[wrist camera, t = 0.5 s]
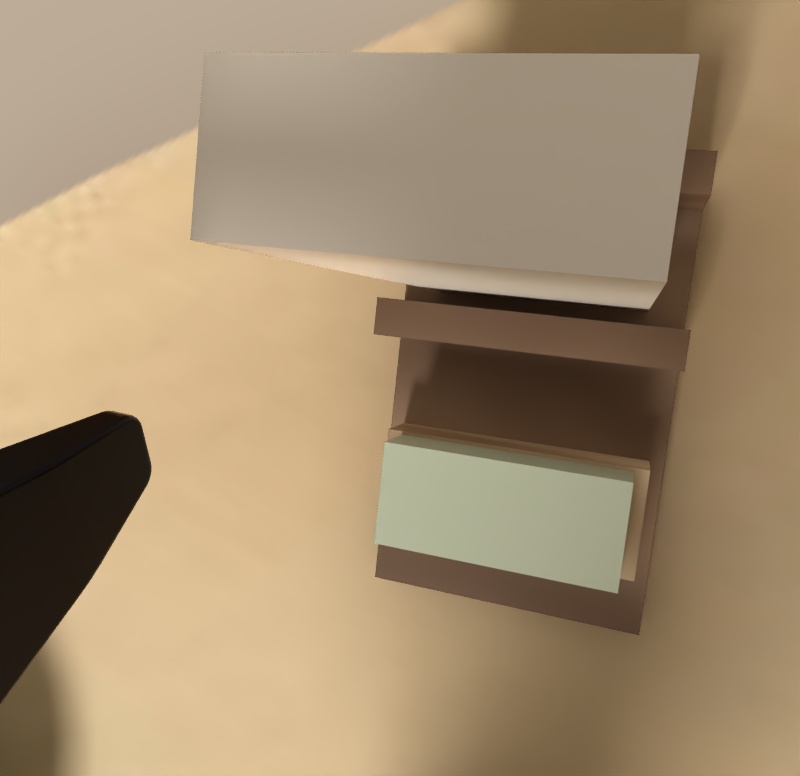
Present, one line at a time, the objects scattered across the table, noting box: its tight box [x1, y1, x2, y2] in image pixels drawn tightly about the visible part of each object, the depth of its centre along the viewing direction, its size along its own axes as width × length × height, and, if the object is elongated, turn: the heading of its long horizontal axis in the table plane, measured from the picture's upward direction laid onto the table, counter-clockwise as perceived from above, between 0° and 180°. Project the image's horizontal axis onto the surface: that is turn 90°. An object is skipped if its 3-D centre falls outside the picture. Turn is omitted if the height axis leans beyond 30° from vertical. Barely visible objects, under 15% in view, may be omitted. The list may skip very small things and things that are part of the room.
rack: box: [374, 150, 717, 635], centre depth 21 cm, size 13×8×4 cm, turn 173°
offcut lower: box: [388, 423, 650, 581], centre depth 21 cm, size 3×7×2 cm, turn 83°
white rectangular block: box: [190, 52, 700, 312], centre depth 15 cm, size 2×6×13 cm, turn 83°
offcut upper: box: [374, 435, 634, 594], centre depth 20 cm, size 3×6×2 cm, turn 83°
